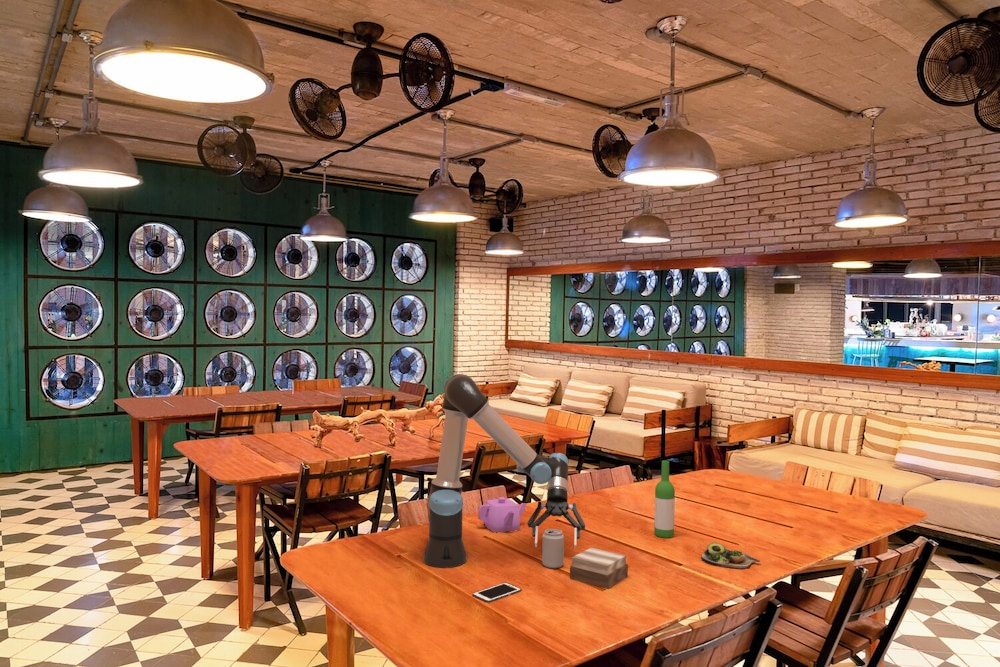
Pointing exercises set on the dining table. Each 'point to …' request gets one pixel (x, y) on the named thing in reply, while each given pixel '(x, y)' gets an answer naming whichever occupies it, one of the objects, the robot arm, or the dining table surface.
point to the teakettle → (501, 514)
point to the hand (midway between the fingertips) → (555, 546)
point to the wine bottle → (664, 504)
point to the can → (553, 548)
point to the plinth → (598, 576)
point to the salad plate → (726, 557)
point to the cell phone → (496, 592)
